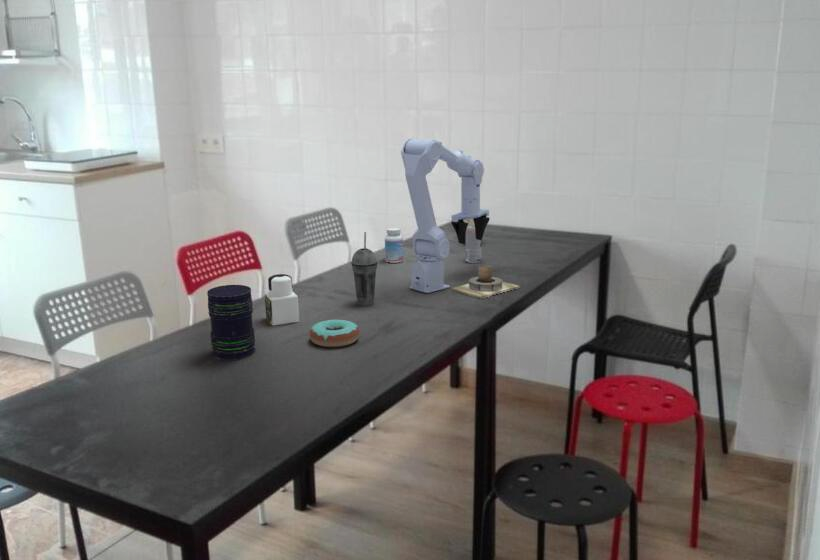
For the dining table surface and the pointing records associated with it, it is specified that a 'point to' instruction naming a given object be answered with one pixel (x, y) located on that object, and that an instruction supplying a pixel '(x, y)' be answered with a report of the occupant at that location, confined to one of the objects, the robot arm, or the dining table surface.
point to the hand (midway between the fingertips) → (470, 241)
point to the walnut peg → (485, 274)
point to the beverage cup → (364, 274)
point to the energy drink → (473, 246)
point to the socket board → (483, 294)
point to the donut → (334, 333)
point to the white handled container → (281, 301)
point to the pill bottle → (393, 246)
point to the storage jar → (231, 322)
